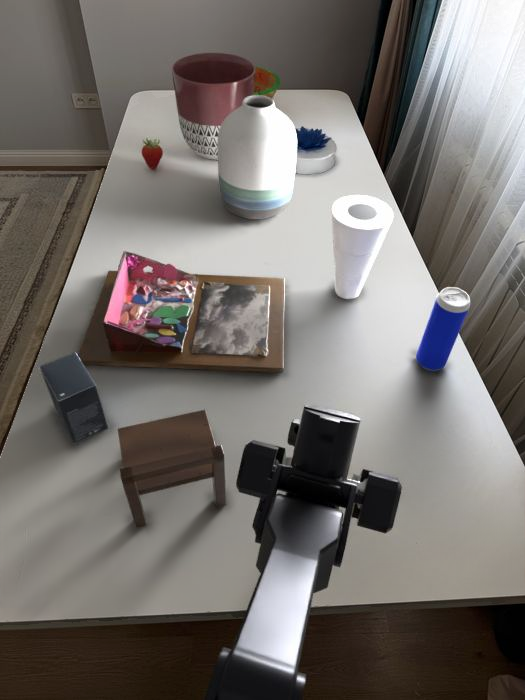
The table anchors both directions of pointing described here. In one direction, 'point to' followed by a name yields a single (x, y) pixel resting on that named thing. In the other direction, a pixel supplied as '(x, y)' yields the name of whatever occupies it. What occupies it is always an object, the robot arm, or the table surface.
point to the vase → (256, 159)
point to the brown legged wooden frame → (169, 458)
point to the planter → (209, 95)
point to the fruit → (152, 153)
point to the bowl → (265, 82)
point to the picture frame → (185, 320)
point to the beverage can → (443, 328)
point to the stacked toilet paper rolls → (357, 240)
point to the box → (74, 397)
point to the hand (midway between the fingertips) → (322, 469)
